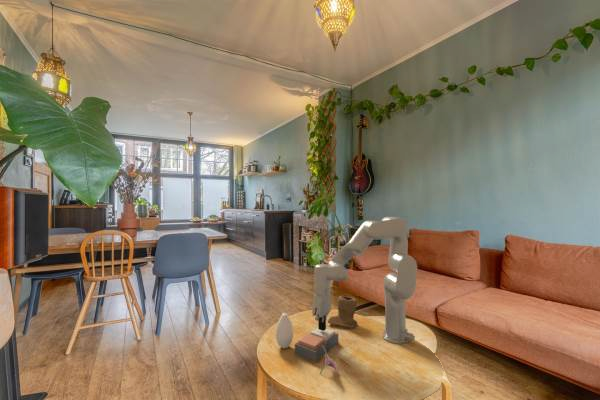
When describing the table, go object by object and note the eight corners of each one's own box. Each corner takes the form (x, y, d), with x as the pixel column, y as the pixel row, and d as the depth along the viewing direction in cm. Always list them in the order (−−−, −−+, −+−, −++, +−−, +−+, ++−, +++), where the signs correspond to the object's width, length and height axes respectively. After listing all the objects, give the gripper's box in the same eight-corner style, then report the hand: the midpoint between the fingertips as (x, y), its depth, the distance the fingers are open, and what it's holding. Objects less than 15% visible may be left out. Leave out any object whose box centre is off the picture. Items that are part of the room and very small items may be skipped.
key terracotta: (324, 344, 124) (324, 338, 124) (314, 352, 118) (314, 346, 118) (308, 339, 129) (308, 333, 129) (298, 346, 123) (298, 340, 123)
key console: (338, 343, 132) (338, 333, 132) (315, 362, 116) (315, 352, 116) (319, 336, 138) (318, 327, 138) (294, 354, 122) (294, 344, 122)
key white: (334, 336, 131) (334, 330, 131) (326, 342, 125) (326, 337, 125) (319, 331, 136) (319, 326, 136) (310, 337, 130) (310, 332, 130)
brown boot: (359, 322, 155) (359, 295, 155) (354, 331, 144) (354, 302, 144) (333, 317, 161) (333, 291, 161) (327, 326, 150) (327, 298, 150)
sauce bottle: (282, 341, 134) (281, 304, 134) (296, 345, 130) (295, 307, 130) (272, 349, 127) (272, 310, 127) (287, 353, 123) (287, 313, 123)
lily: (335, 389, 101) (346, 363, 102) (307, 371, 104) (318, 346, 106) (337, 380, 112) (347, 357, 114) (312, 363, 116) (322, 341, 117)
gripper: (323, 285, 139) (323, 322, 139) (306, 293, 127) (306, 333, 127) (336, 288, 135) (336, 326, 135) (320, 296, 123) (320, 338, 123)
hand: (322, 329), depth 131 cm, fingers closed
